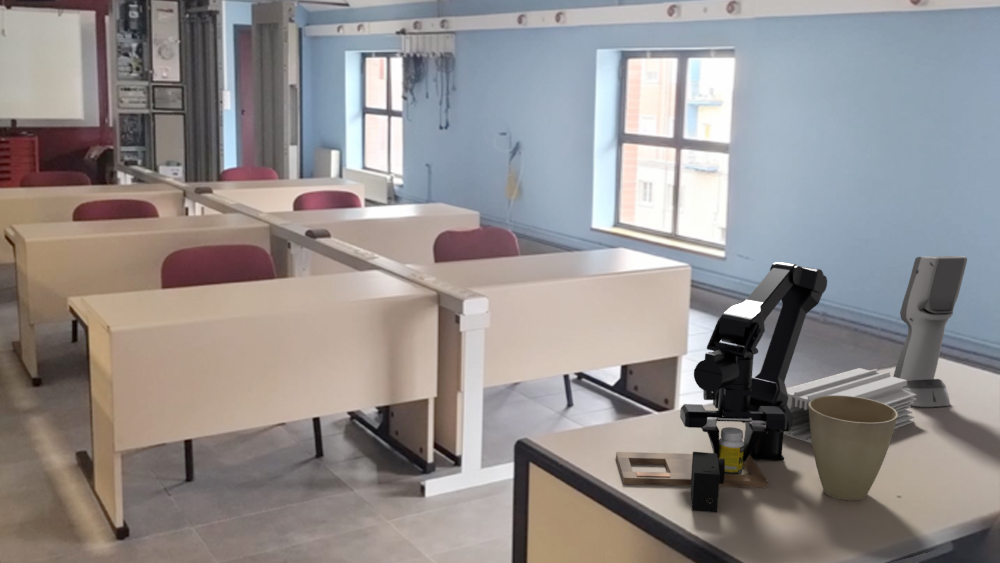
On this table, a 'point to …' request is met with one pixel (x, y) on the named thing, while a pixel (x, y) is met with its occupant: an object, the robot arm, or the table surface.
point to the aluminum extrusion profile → (848, 385)
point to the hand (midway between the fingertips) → (730, 460)
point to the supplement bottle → (732, 449)
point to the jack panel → (681, 470)
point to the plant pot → (849, 442)
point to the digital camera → (706, 481)
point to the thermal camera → (928, 325)
